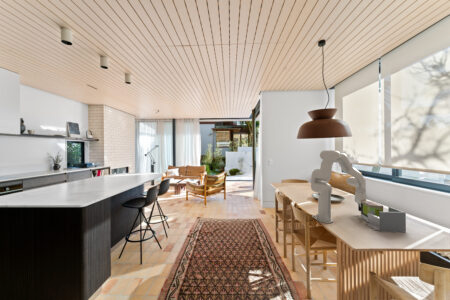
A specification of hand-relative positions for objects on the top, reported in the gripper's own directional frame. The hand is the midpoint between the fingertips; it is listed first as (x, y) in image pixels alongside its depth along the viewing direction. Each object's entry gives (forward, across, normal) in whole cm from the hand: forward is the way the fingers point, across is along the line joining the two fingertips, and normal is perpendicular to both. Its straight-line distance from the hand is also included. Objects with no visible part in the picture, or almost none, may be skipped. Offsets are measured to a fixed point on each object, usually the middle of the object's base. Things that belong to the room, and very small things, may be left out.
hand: (360, 210), depth 174 cm
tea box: (+4, +14, 0) cm, 15 cm away
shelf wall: (+4, +29, 0) cm, 29 cm away
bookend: (+4, +29, -9) cm, 31 cm away
